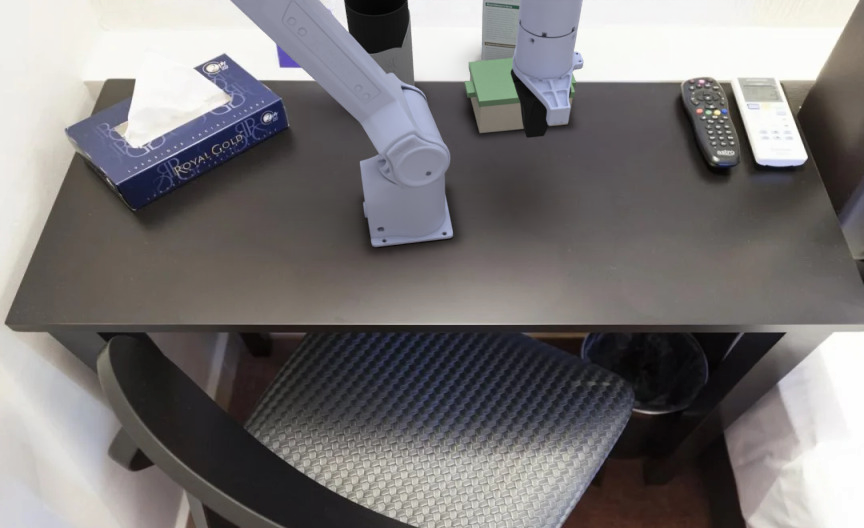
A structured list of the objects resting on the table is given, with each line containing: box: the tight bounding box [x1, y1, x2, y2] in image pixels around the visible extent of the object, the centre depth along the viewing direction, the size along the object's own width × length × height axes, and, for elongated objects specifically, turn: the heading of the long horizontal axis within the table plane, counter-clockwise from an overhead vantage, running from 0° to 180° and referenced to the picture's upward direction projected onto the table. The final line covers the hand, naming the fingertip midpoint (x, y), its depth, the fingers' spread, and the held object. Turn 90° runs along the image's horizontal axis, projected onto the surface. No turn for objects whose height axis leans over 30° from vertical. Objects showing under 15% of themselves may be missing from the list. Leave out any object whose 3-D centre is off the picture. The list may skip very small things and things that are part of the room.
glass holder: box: [343, 0, 416, 87], centre depth 84 cm, size 9×14×15 cm, turn 108°
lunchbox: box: [464, 58, 577, 134], centre depth 88 cm, size 14×5×8 cm
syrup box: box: [481, 0, 520, 61], centre depth 89 cm, size 6×6×14 cm
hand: (534, 132), depth 74 cm, fingers closed
